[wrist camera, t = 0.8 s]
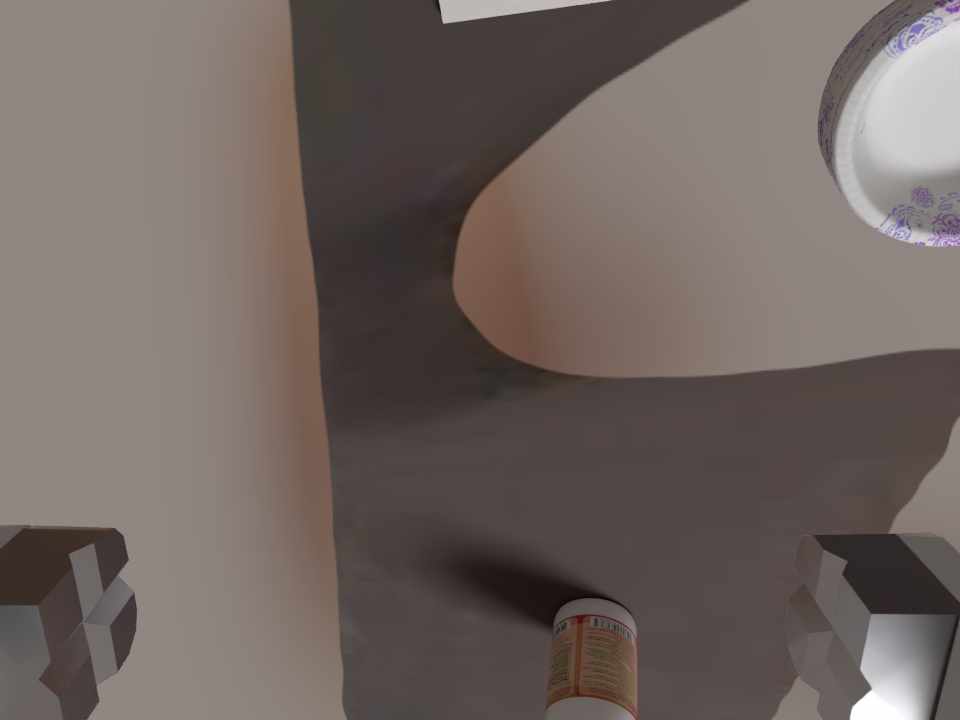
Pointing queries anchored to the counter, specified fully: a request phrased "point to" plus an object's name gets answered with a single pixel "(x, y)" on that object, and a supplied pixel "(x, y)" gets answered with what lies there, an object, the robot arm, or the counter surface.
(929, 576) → the robot arm
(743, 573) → the counter surface
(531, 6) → the cartridge dock
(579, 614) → the fruit juice
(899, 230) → the paper bowls
